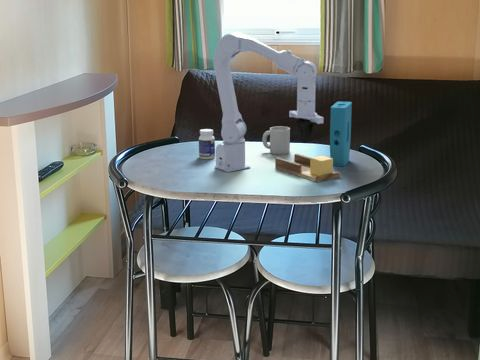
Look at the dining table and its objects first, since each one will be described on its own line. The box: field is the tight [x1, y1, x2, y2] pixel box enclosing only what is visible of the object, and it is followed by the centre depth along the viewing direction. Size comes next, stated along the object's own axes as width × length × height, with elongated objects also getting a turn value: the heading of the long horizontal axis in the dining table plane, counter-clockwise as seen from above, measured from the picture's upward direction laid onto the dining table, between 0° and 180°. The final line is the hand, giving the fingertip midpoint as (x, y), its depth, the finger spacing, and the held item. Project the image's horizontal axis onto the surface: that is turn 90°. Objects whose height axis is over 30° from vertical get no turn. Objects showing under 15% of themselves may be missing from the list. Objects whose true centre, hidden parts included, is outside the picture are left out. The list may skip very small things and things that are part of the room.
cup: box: [261, 125, 291, 156], centre depth 244 cm, size 7×10×9 cm
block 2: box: [329, 101, 353, 167], centre depth 228 cm, size 12×5×20 cm, turn 160°
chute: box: [274, 153, 341, 183], centre depth 219 cm, size 9×21×4 cm, turn 35°
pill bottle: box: [198, 128, 216, 160], centre depth 238 cm, size 6×6×10 cm
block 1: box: [310, 155, 334, 176], centre depth 213 cm, size 5×5×5 cm
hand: (305, 142), depth 217 cm, fingers closed
